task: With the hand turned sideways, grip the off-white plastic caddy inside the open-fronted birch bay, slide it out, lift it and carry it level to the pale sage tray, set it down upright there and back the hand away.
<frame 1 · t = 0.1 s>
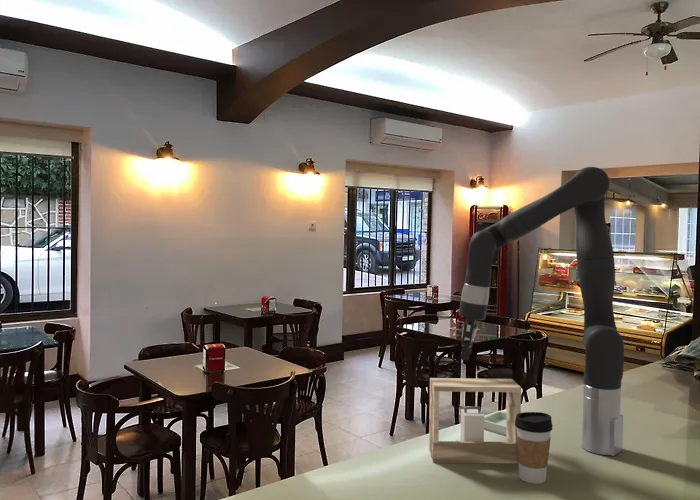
hand: (465, 356, 161), 22 cm above the counter, tool pointing down, fingers open, 8 cm apart
caddy: (471, 454, 148), on the counter
tray: (505, 427, 167), on the counter
bay: (471, 453, 148), on the counter
coffee cup: (532, 479, 134), on the counter
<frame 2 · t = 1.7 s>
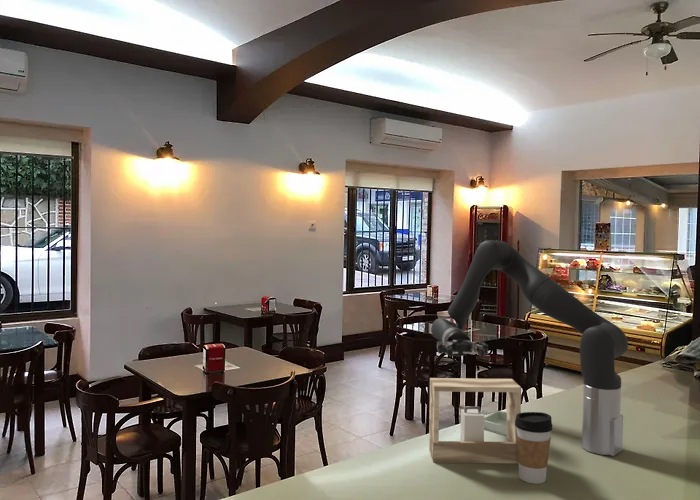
hand: (466, 353, 158), 24 cm above the counter, tool horizontal, fingers open, 8 cm apart
nothing on the counter moved.
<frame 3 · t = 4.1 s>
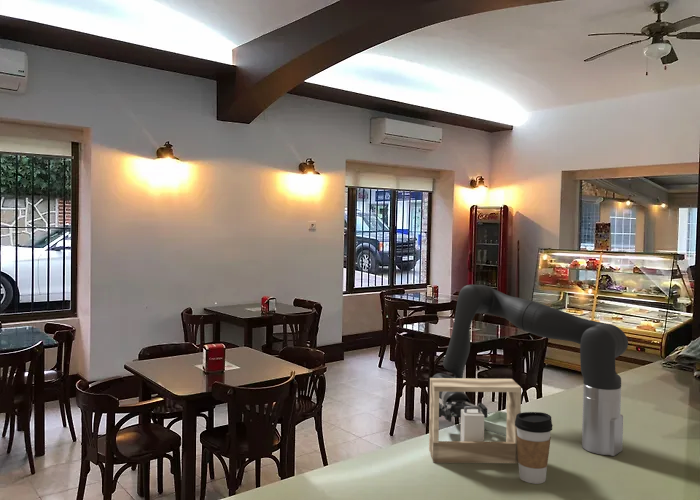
hand: (465, 418, 156), 6 cm above the counter, tool horizontal, fingers open, 8 cm apart
nothing on the counter moved.
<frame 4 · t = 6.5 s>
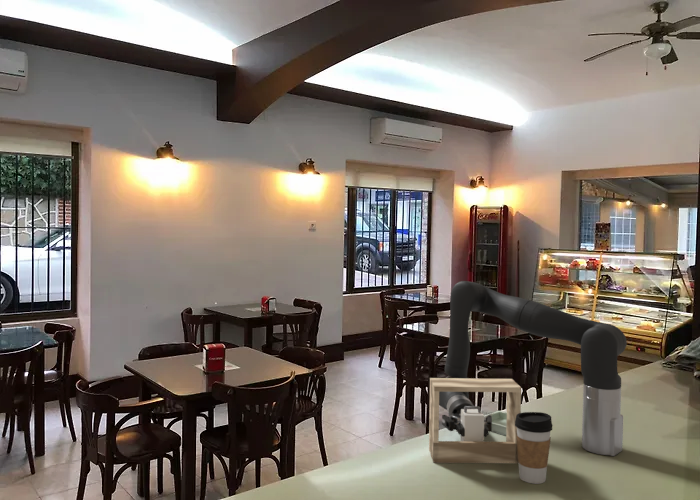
hand: (474, 432, 145), 7 cm above the counter, tool horizontal, fingers closed on caddy, 5 cm apart
caddy: (471, 453, 148), on the counter, touching gripper
everything else where it was.
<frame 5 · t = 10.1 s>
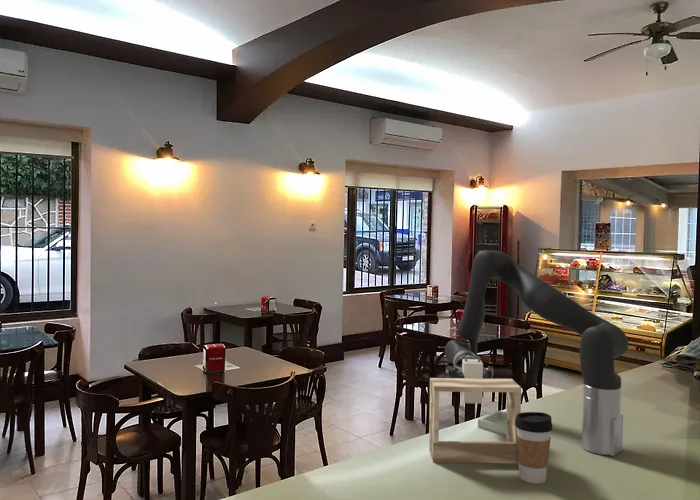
hand: (473, 379, 155), 17 cm above the counter, tool horizontal, fingers closed on caddy, 5 cm apart
caddy: (472, 400, 158), point 11 cm above the counter, touching gripper
everything else where it was.
when the fingers open (8 cm above the counter, at t = 13.7 s): caddy drops 1 cm, resting on tray.
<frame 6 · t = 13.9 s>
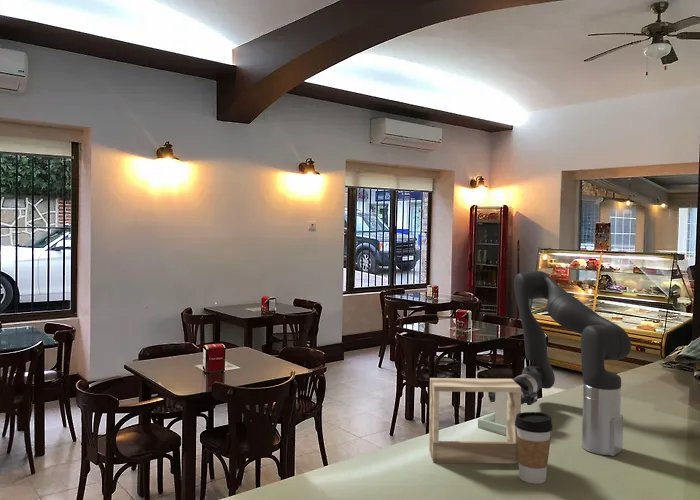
hand: (503, 400, 165), 9 cm above the counter, tool horizontal, fingers open, 6 cm apart
caddy: (505, 425, 168), point 1 cm above the counter, touching tray
everything else where it was.
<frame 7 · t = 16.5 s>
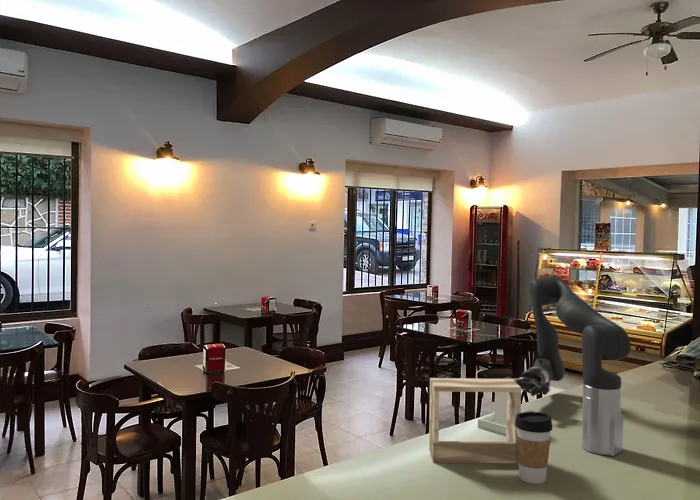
hand: (518, 390, 176), 9 cm above the counter, tool horizontal, fingers open, 8 cm apart
nothing on the counter moved.
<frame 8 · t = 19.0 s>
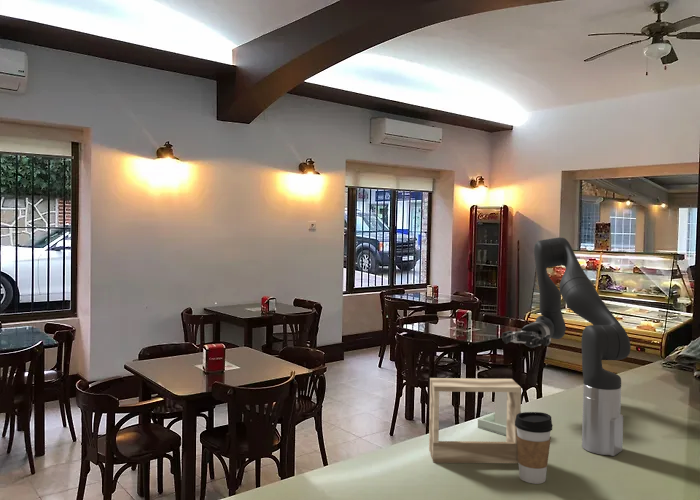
hand: (519, 341, 175), 24 cm above the counter, tool horizontal, fingers open, 8 cm apart
nothing on the counter moved.
at the end: caddy 0.1 cm off-centre on the tray, point 0.6 cm above the tray's base; caddy tilted 0°; the gripper is holding nothing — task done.
